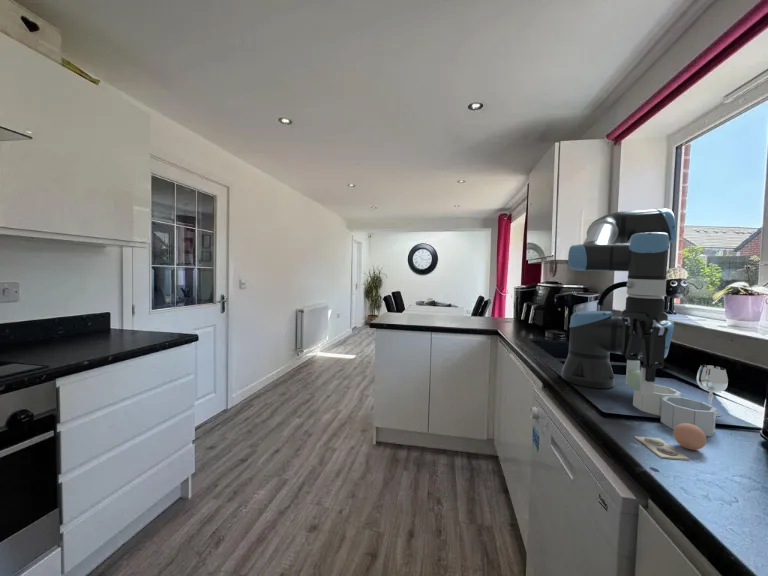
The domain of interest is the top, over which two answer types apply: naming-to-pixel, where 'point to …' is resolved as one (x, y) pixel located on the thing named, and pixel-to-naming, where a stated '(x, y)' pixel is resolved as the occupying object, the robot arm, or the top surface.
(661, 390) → the white octagonal bowl
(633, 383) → the sage ball
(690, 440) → the terracotta ball
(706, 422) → the grey octagonal bowl
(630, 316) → the robot arm
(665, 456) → the card
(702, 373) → the wineglass
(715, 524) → the top surface
